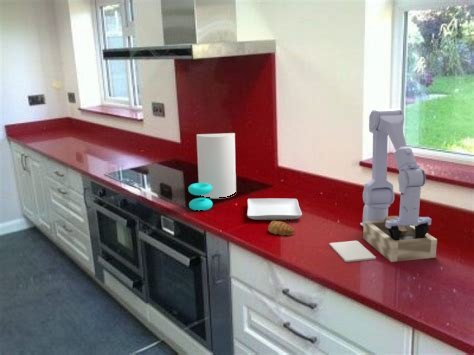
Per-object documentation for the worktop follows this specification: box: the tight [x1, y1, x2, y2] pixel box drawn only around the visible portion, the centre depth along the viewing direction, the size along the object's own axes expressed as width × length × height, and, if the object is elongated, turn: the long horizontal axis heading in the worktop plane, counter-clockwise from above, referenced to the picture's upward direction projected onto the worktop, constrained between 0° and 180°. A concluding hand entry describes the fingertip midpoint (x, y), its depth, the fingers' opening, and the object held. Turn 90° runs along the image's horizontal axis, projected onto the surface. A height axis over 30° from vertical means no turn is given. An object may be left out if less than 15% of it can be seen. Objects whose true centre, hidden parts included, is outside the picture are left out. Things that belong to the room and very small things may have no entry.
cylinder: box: [196, 132, 237, 199], centre depth 218 cm, size 17×17×28 cm
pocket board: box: [362, 220, 438, 263], centre depth 156 cm, size 20×15×6 cm
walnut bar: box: [384, 215, 407, 235], centre depth 157 cm, size 7×4×2 cm, turn 10°
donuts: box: [187, 182, 214, 212], centre depth 200 cm, size 10×10×10 cm
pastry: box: [267, 220, 295, 236], centre depth 171 cm, size 9×7×4 cm
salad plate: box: [246, 197, 303, 221], centre depth 192 cm, size 21×21×3 cm
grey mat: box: [328, 240, 377, 263], centre depth 154 cm, size 14×10×1 cm
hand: (406, 247), depth 151 cm, fingers open, 7 cm apart
